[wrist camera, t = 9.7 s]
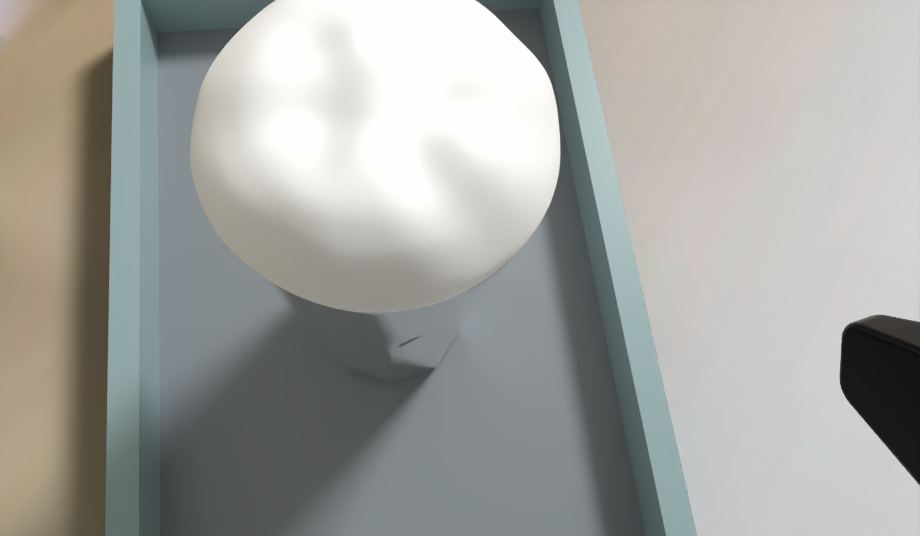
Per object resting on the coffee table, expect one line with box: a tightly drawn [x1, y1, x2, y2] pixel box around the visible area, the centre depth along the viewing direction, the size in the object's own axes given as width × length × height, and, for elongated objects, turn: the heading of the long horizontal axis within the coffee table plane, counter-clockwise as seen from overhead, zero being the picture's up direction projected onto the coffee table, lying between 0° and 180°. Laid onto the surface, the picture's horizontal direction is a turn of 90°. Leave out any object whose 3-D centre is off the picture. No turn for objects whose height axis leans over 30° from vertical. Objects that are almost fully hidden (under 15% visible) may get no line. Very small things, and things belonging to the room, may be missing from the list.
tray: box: [105, 0, 697, 536], centre depth 17 cm, size 16×11×2 cm
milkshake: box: [190, 0, 560, 383], centre depth 12 cm, size 4×5×10 cm
